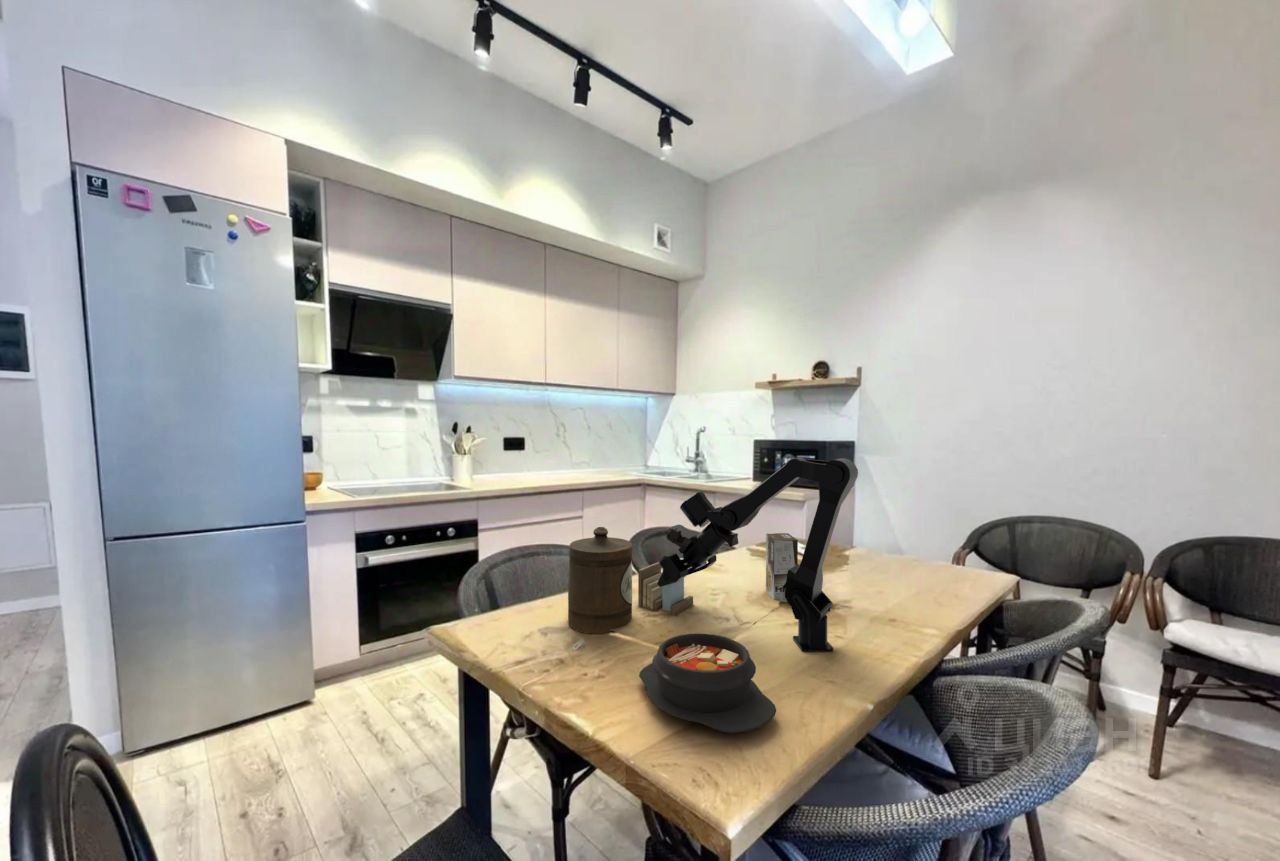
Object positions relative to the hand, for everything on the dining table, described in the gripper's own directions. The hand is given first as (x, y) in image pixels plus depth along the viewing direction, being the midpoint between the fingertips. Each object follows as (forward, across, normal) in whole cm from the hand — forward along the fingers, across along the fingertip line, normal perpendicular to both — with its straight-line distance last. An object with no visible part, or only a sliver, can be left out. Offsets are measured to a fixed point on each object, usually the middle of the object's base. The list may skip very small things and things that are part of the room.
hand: (668, 580), depth 126 cm
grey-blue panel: (+4, 0, +5) cm, 6 cm away
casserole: (-14, +32, +24) cm, 43 cm away
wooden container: (+11, +16, -1) cm, 20 cm away
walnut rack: (+5, 0, +5) cm, 7 cm away
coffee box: (-8, -25, +19) cm, 33 cm away
